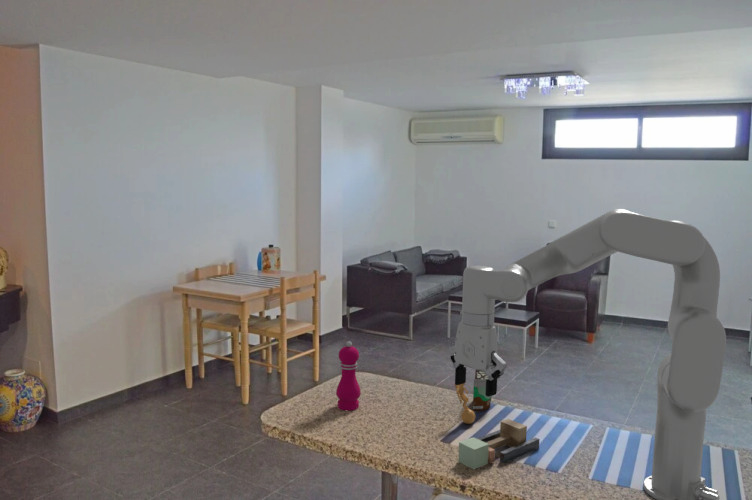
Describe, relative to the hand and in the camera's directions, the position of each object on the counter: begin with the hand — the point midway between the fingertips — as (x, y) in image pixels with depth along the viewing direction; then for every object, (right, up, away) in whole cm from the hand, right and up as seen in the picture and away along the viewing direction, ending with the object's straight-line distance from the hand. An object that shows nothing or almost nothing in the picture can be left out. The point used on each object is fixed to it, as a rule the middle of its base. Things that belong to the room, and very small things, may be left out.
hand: (475, 389), depth 146 cm
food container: (+9, -14, +39) cm, 42 cm away
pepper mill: (-32, -14, +37) cm, 51 cm away
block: (0, -18, +2) cm, 18 cm away
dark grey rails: (+9, -17, +10) cm, 22 cm away
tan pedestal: (+7, -17, +8) cm, 20 cm away
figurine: (+1, -15, +26) cm, 31 cm away
